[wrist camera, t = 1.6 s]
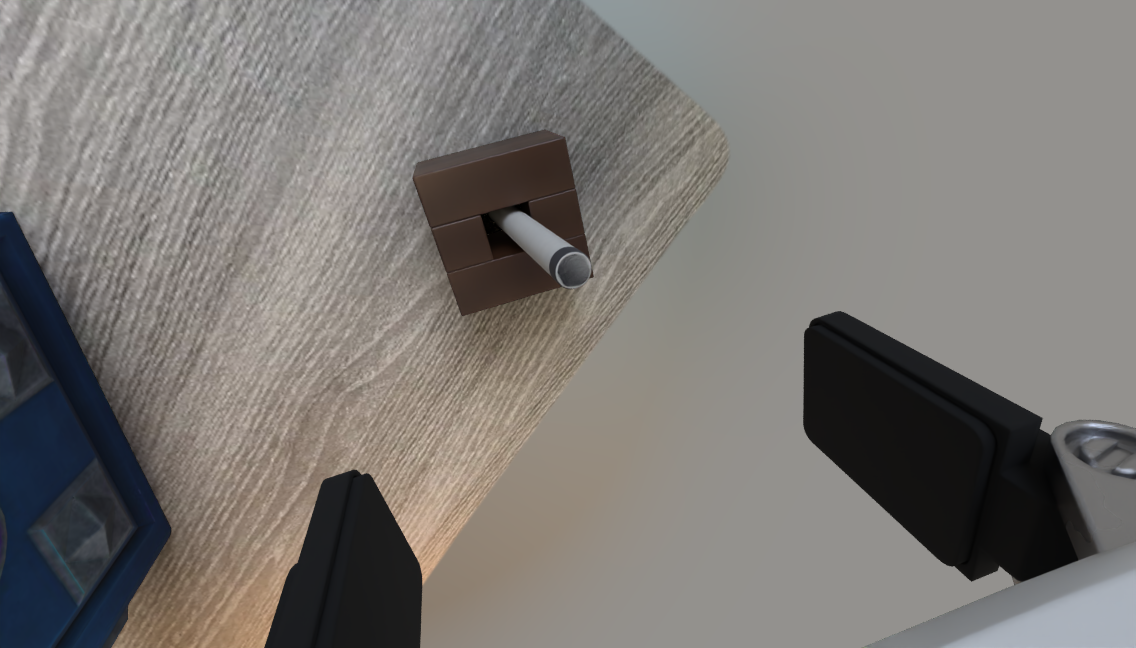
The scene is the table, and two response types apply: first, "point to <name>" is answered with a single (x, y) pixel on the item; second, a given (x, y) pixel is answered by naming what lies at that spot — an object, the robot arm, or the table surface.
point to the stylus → (545, 247)
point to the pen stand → (492, 182)
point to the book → (62, 477)
